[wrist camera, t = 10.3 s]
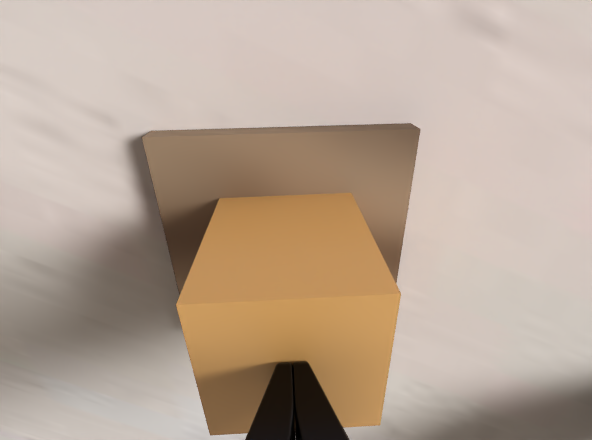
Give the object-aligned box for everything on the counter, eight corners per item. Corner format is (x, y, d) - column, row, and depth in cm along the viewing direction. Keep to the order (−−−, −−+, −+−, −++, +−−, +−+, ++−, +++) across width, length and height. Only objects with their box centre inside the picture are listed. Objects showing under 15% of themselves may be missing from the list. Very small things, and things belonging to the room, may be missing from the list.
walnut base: (383, 314, 17) (388, 329, 16) (194, 323, 17) (190, 338, 16) (410, 123, 13) (420, 128, 12) (151, 130, 12) (141, 137, 12)
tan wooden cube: (345, 294, 15) (379, 425, 10) (234, 300, 15) (210, 435, 10) (351, 192, 13) (401, 293, 8) (219, 198, 13) (176, 304, 7)
